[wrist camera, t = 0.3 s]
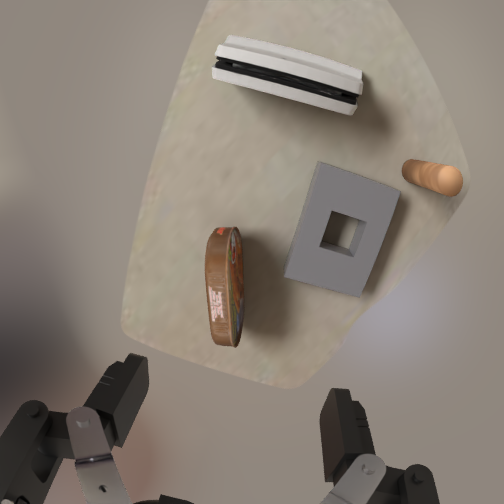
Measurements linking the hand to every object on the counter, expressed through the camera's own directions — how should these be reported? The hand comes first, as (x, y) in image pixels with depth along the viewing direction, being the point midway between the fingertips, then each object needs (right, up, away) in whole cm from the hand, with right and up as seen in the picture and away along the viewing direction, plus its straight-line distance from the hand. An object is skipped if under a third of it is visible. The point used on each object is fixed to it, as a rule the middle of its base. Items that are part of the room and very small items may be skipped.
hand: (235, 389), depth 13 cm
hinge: (+5, +26, +21) cm, 34 cm away
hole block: (+11, +9, +26) cm, 29 cm away
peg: (+21, +16, +23) cm, 34 cm away
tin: (-2, +3, +29) cm, 29 cm away
